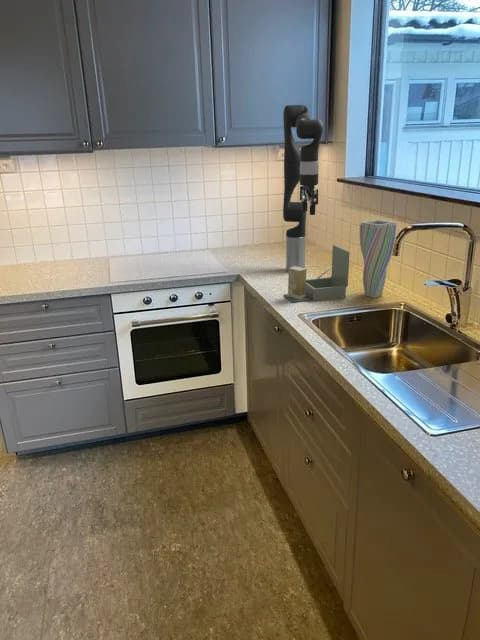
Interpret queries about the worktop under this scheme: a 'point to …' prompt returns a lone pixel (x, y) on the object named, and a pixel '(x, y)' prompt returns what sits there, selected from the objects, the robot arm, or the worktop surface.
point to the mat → (294, 300)
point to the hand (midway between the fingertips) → (308, 213)
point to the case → (331, 278)
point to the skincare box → (297, 282)
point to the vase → (376, 253)
